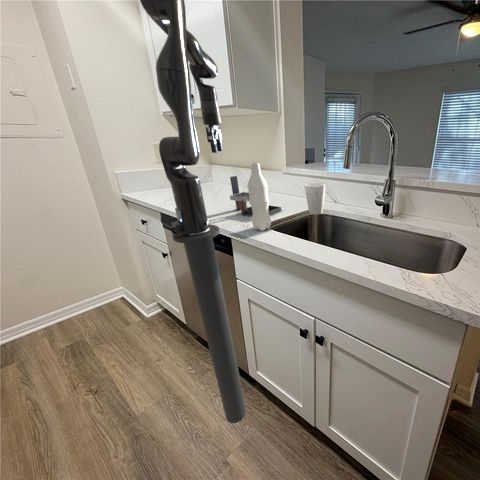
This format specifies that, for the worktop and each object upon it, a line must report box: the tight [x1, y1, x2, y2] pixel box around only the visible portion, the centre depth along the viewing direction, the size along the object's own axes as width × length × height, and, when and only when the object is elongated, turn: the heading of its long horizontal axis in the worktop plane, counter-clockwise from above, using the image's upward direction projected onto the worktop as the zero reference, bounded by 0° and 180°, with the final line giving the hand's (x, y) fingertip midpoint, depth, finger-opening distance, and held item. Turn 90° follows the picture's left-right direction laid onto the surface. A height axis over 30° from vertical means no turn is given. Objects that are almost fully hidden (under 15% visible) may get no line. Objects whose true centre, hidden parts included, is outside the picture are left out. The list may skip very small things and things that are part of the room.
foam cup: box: [304, 182, 326, 216], centre depth 119 cm, size 10×9×13 cm
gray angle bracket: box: [229, 175, 250, 204], centre depth 124 cm, size 12×12×11 cm
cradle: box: [234, 200, 248, 216], centre depth 126 cm, size 10×15×7 cm
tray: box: [240, 205, 282, 217], centre depth 123 cm, size 14×12×2 cm
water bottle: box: [247, 162, 272, 232], centre depth 98 cm, size 7×7×25 cm
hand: (217, 151), depth 120 cm, fingers open, 8 cm apart
